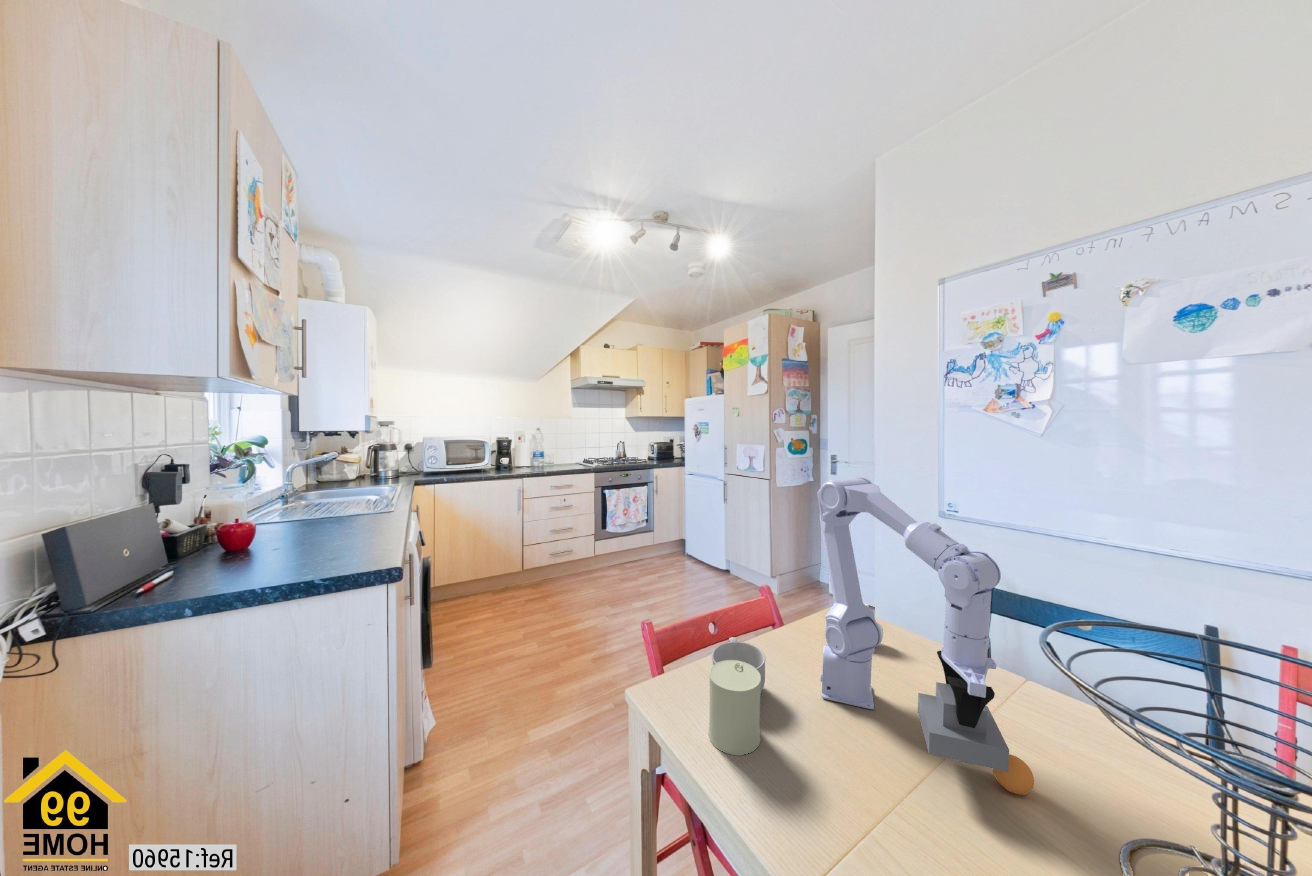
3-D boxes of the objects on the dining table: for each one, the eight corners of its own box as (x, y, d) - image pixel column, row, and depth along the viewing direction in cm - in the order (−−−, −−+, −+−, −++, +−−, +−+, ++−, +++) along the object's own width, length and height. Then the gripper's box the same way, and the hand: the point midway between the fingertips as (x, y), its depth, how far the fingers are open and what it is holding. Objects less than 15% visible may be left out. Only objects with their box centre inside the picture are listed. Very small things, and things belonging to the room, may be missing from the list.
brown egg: (1042, 805, 66) (1001, 800, 68) (1030, 780, 70) (992, 775, 72) (1035, 771, 66) (994, 766, 68) (1024, 748, 70) (986, 744, 72)
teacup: (765, 712, 86) (766, 673, 85) (709, 705, 88) (709, 666, 88) (763, 670, 100) (763, 635, 99) (714, 664, 102) (714, 630, 101)
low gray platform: (928, 753, 69) (930, 708, 68) (917, 712, 78) (918, 671, 77) (1008, 772, 65) (1010, 724, 65) (986, 726, 74) (988, 684, 74)
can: (762, 724, 83) (764, 662, 82) (757, 762, 74) (758, 693, 73) (713, 712, 86) (714, 653, 85) (703, 747, 77) (703, 682, 76)
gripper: (1014, 660, 62) (1008, 752, 63) (982, 613, 75) (977, 690, 76) (954, 649, 64) (949, 738, 66) (933, 606, 78) (930, 681, 79)
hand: (961, 711), depth 71 cm, fingers closed on low gray platform, 6 cm apart
